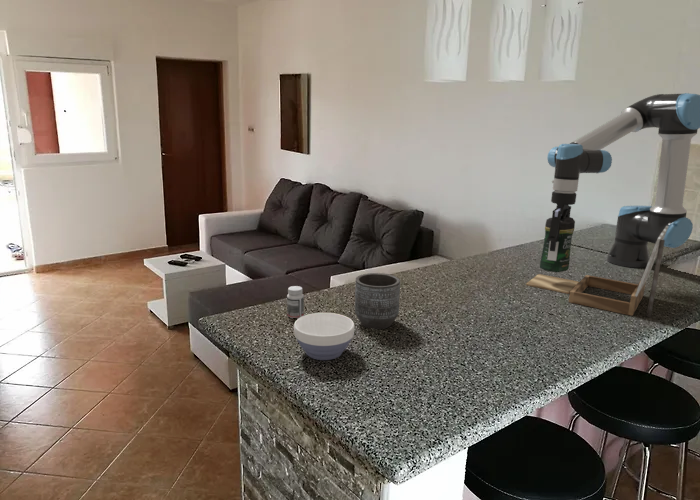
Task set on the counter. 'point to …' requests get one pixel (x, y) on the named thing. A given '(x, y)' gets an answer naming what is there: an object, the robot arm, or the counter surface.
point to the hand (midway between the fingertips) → (555, 256)
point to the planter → (377, 299)
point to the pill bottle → (295, 302)
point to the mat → (552, 283)
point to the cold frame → (621, 287)
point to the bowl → (324, 334)
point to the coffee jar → (563, 246)
